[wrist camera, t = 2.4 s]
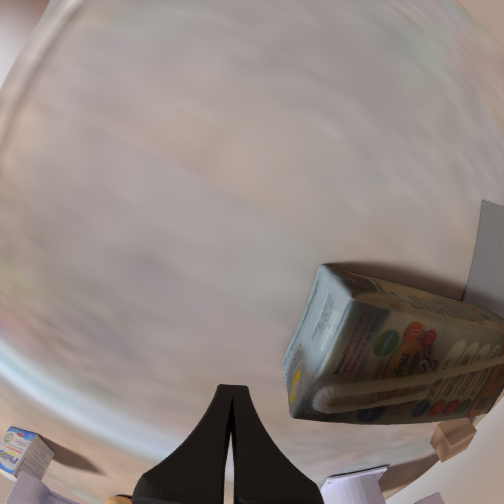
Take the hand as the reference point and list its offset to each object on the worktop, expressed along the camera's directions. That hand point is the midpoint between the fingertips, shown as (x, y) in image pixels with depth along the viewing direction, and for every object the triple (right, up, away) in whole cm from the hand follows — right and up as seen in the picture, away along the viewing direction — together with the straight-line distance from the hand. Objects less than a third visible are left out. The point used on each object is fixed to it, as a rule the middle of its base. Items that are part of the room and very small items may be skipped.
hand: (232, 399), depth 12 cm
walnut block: (+25, -15, +11) cm, 31 cm away
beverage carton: (+13, +1, +6) cm, 14 cm away
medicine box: (-31, -20, +11) cm, 38 cm away
